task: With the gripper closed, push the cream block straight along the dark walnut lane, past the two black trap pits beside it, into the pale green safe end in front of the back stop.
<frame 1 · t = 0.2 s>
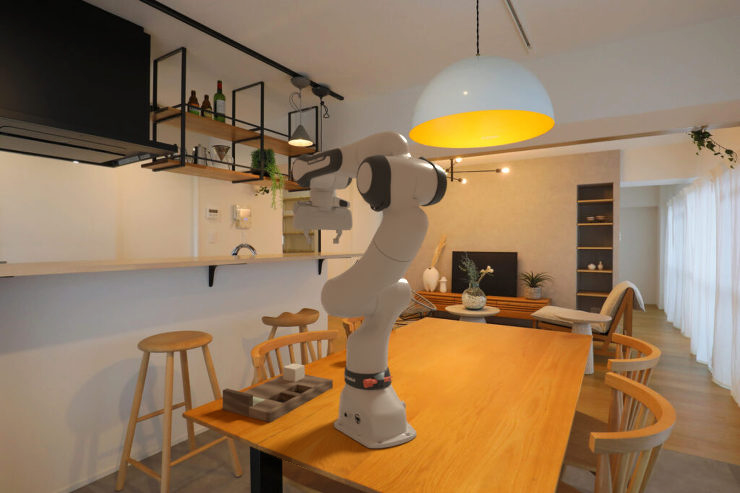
hand: (322, 243, 137), 47 cm above the table, tool pointing down, fingers open, 8 cm apart
block: (293, 378, 136), point 2 cm above the table, touching trap deck
trap deck: (273, 395, 127), on the table
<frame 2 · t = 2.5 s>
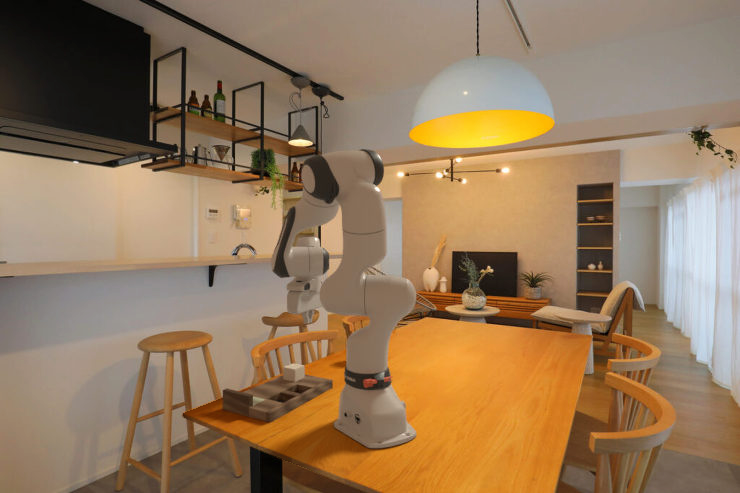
hand: (307, 323, 142), 20 cm above the table, tool pointing down, fingers closed
nothing on the table moved.
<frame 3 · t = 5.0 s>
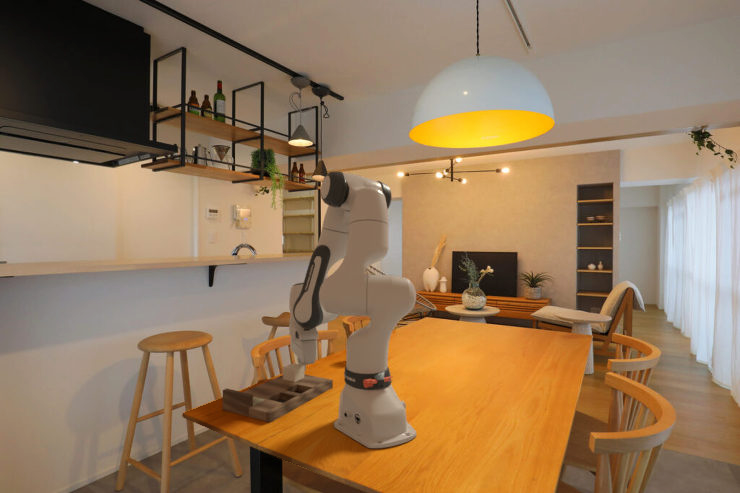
hand: (302, 370, 140), 4 cm above the table, tool pointing down, fingers closed
block: (293, 378, 136), point 3 cm above the table, touching gripper
everything else where it was.
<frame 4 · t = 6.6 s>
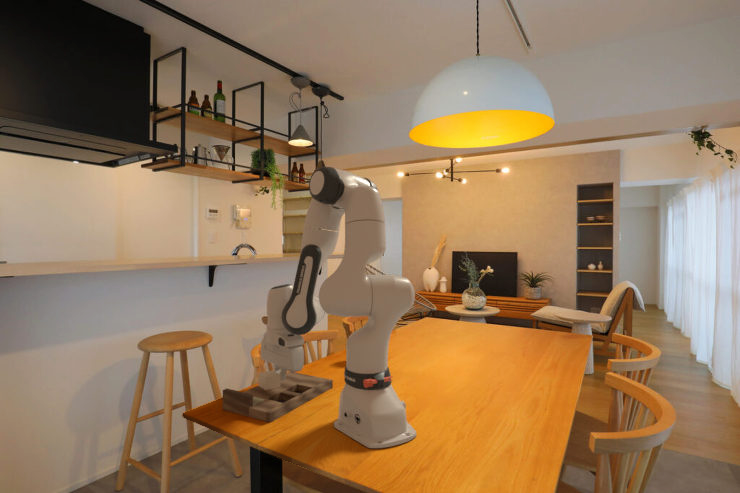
hand: (280, 379, 130), 4 cm above the table, tool pointing down, fingers closed
block: (269, 386, 128), point 3 cm above the table, touching gripper
everything else where it was.
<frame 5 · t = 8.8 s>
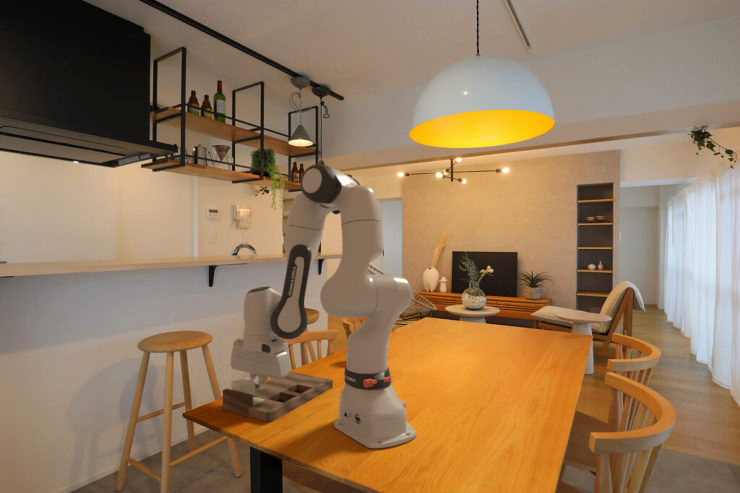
hand: (258, 388, 122), 4 cm above the table, tool pointing down, fingers closed
block: (243, 395, 121), point 2 cm above the table, touching gripper, trap deck
everything else where it was.
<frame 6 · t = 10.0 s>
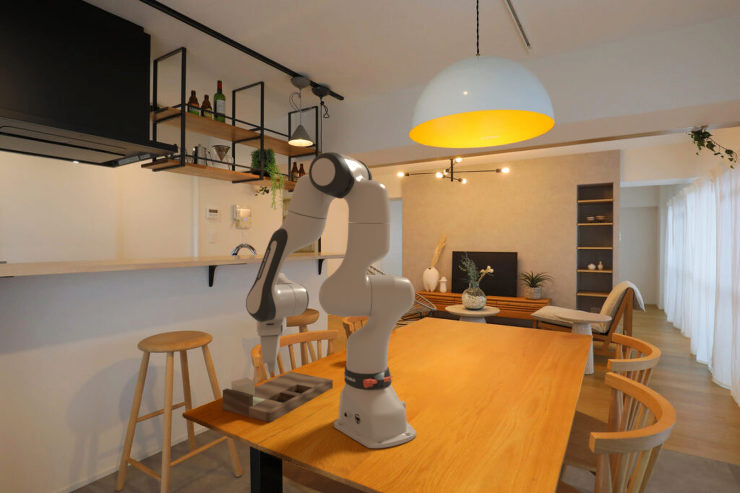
hand: (271, 371, 125), 8 cm above the table, tool pointing down, fingers closed
block: (243, 395, 121), point 2 cm above the table, touching trap deck
everything else where it was.
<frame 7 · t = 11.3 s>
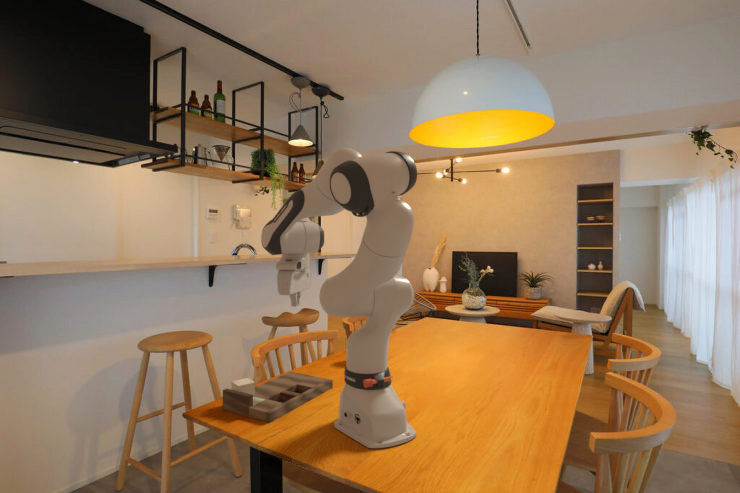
hand: (295, 305, 132), 27 cm above the table, tool pointing down, fingers closed
nothing on the table moved.
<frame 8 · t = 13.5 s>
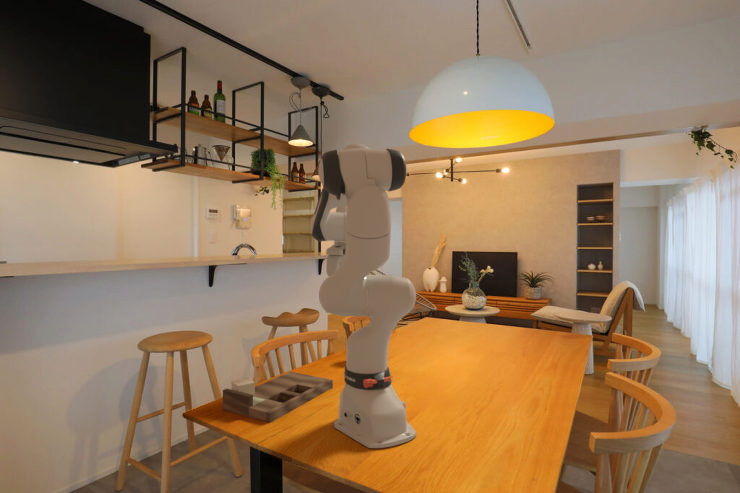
hand: (346, 288, 149), 31 cm above the table, tool pointing down, fingers closed
nothing on the table moved.
at the end: block inside the target area (2.9 cm from its centre), point 2.5 cm above the table; block tilted 0° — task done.
